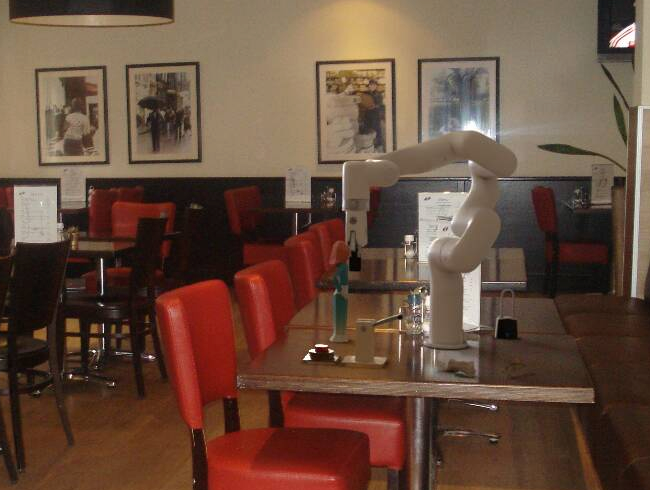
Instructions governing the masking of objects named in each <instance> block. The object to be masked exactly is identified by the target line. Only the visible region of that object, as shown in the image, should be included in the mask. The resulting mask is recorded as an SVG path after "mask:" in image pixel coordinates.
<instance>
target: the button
mask: <svg viewBox="0 0 650 490" xmlns="http://www.w3.org/2000/svg"><path fill="white" fill-rule="evenodd" d="M314 349H315V352H329V349H330V347H329V345H328V344H316V345H314Z"/></svg>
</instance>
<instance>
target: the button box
mask: <svg viewBox="0 0 650 490" xmlns="http://www.w3.org/2000/svg"><path fill="white" fill-rule="evenodd" d="M308 351H309V352H308V354H306V356H304V357H303V358H302V362H320V363H321V362H322V363H337V362H338V361H339V359H340V358H341V357H342V356H341V355H339V354H335V350H333V349H330V348H329V352H315V348H312V349H310V350H308Z"/></svg>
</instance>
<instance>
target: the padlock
mask: <svg viewBox="0 0 650 490" xmlns="http://www.w3.org/2000/svg"><path fill="white" fill-rule="evenodd" d="M506 292H510V293H511V315H510V316H507V315H503V314H504V313H503V311H504V295H505V293H506ZM515 299H516V297H515V292H514V290H513V289H511V288H504V289H503V290H502V291H501V294H500V306H499V307H500V308H499V310H500V311H499V316H497V317H496V320H495V331H494V338H495V339H499V340H519V338H520V337H519V320H518V318H517V317H516V315H515V308H516V307H515V305H516V304H515V303H516V301H515Z"/></svg>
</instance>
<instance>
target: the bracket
mask: <svg viewBox="0 0 650 490" xmlns="http://www.w3.org/2000/svg"><path fill="white" fill-rule="evenodd" d="M375 320H376V319H374V318H357V320H356V321H355V326H354V328H355V329H354V330H355V332H354V333H355V334H354V337H355V338H354V355H345V357H344V358H343V359H342V360H341V364H351V365H368V366H369V365H370V366H385V364H386V363H387V362H386V361H388V357H382V356H380V357H379V356H375V327H376V326H374V327H373V322H376V321H375ZM368 321H369V322H368Z"/></svg>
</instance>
